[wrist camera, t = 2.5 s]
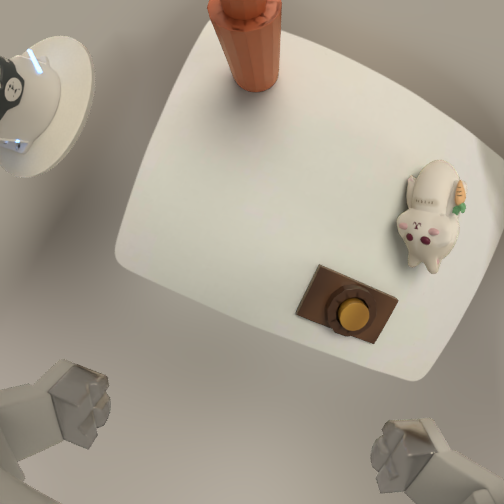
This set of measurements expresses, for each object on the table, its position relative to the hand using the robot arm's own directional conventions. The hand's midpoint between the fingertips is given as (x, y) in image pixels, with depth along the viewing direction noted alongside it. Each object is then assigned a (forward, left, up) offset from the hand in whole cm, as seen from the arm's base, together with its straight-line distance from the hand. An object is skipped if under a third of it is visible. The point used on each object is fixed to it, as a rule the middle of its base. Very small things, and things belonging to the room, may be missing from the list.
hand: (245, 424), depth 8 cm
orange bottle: (-5, +21, -35) cm, 41 cm away
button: (+13, -8, -32) cm, 35 cm away
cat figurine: (+21, +7, -35) cm, 41 cm away
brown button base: (+13, -8, -35) cm, 38 cm away
